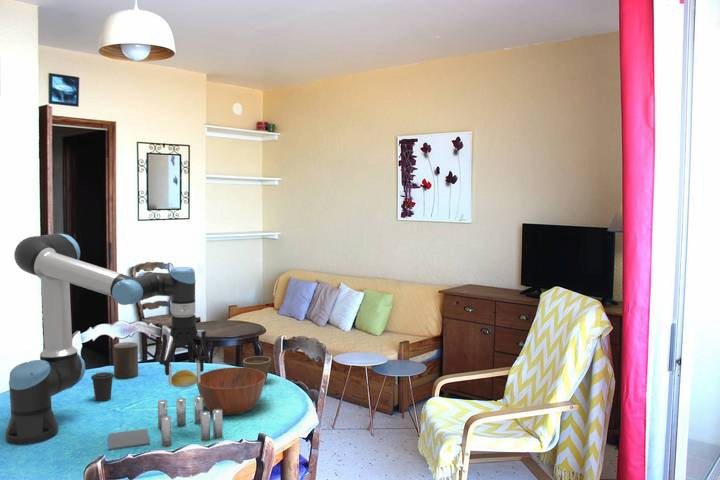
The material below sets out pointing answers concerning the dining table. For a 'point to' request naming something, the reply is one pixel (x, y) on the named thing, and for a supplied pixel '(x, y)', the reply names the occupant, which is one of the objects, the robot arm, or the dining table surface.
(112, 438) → the slate coaster
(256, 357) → the flower pot
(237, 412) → the bowl
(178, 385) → the bread roll
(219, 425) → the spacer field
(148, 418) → the dining table surface
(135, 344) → the pillar candle
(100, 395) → the coffee cup
